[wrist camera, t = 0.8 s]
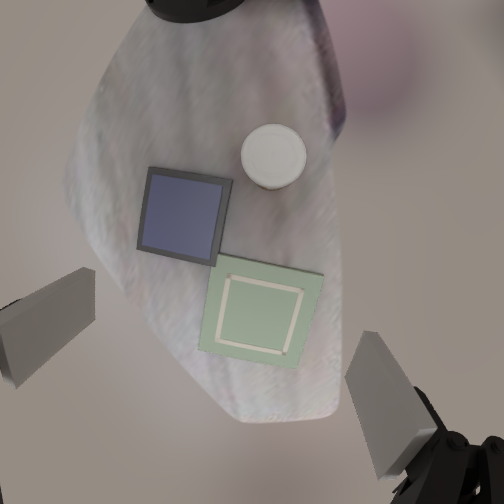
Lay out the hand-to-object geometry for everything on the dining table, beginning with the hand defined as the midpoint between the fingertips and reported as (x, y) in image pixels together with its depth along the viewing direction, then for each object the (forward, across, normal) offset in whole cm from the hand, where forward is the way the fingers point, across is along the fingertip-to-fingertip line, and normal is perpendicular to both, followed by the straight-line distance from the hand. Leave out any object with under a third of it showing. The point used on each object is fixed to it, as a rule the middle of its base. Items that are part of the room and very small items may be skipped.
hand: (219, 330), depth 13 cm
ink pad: (+21, -8, +1) cm, 23 cm away
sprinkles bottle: (+22, +1, +8) cm, 23 cm away
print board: (+21, +3, -8) cm, 23 cm away
